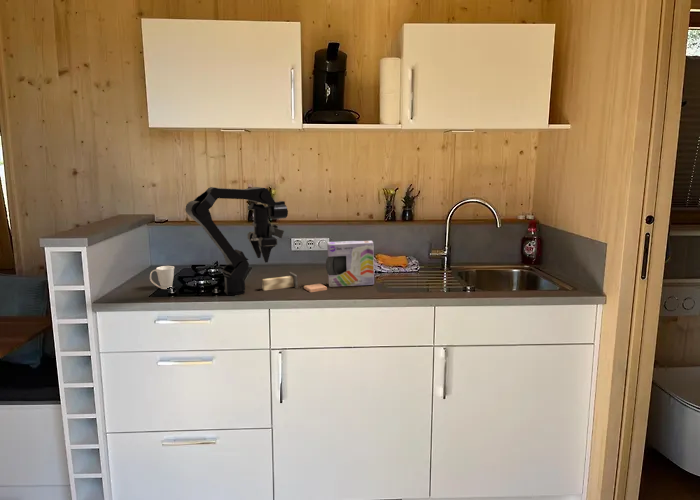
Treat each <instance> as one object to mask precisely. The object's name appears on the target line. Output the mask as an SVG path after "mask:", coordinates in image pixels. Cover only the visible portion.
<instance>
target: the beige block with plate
mask: <svg viewBox="0 0 700 500" xmlns="http://www.w3.org/2000/svg"><path fill="white" fill-rule="evenodd" d="M298 280H299V279H298V275H297V274H296V273H294V272H292V271H289V272H288V275H286V276H279V277H268V278H262V280H261V281H262V283H261V285H262V288H261V289H262V290H263V291H270V290H280V289H287V288H295V289H298V288H299V286H298Z"/></svg>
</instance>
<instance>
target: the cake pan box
mask: <svg viewBox="0 0 700 500" xmlns="http://www.w3.org/2000/svg"><path fill="white" fill-rule="evenodd" d="M326 246H327V247H326V248H327V258H326V260H325V269H326V273H327V277H328V279H327V281H328V287H330V288H331V287H332V288H333V287H351V286H352V287H355V286H373V285H375V258H374V257H375V255H374V254H375V253H374V249H375V247H374V241H373V240H345V241H327V244H326Z"/></svg>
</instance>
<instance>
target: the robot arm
mask: <svg viewBox="0 0 700 500" xmlns="http://www.w3.org/2000/svg"><path fill="white" fill-rule="evenodd" d="M218 199H225V200H227V199H229V200H246V201H250V202H251V204H250V205H248V207H247V209H249V210H253V211H252V212H253V222H252V226H253V231H249V232H248V233H247V240H248V241H249V243H250V246H251V248H252V249H253V251H254V253H255V256H256V259H260V258H261V256H262V258H263V262H264V263H265V264H266V263H267V264H268V263H269V260H270V255H271V252H272V249H274V247H276V246H277V245H278V238H279V239H283V236H284V232H285V230H284V229H280V228H278V225H276V224H272V223H271V222H270V219H271V220H278V219H279V220H281V219H282V220H283V219H286V218H287V217H288V215H289V210H288V206H287V205H286V201H283V200H279V201H275V199H274V198H273V197H272V196H271V192H270V190H269V189H268V188H266V187H261V186H256V187H255V186H254V187H248V188H225V187H224V188H223V187H215V186H210V187H208V188H207V189H206V190H204V192H202V193H201V194H200V195H198V196H197V197H195V198H194V200H191V201H188V202H187V203H186V206H185V213H186V214H187V215H188V216H189V217H190V218H191V219H192V220H193V221H194V222H196V223H197V224H198V225H200V226H201V228H202V229H203V230H204V231H205V233H206V235H208V237H209V238H210V239H211V241H212V242H213V243H214V244H215V246H216V247H217V248H218V250H219V251H220V253H222V255H223V258H224V261H225V263H226V265H225V266H224V267H223V268H222V270H221V272H222V274H223V276H224V290H223V292H224V293H225V294H226V296H233V295H241V294H242V295H243V294H245V293H246V291H245V290H246V285H245V284H246V283H245V279H244V278H245V276H246V273H247V271H248V269H249V266H250V263H249V259H248V258H247V257H246V256H245V254H244V252H243V251H242V250H239V249H234V247H233V246H232V245H231V244H230V242H229V241H228V240H227V238H226V237H225V235H224V234H223V233H222V231H221V230H220V229H219V227H218V226H217V225H216V223H215V222H214V221H213V218H212V214H211V212H210V209H211V208H212V207H213V205H215V202H216V201H217V200H218ZM256 203H259V204H256ZM265 205H266V206H265ZM269 218H270V219H269ZM276 237H278V238H276Z"/></svg>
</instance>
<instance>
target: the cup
mask: <svg viewBox="0 0 700 500" xmlns="http://www.w3.org/2000/svg"><path fill="white" fill-rule="evenodd" d="M155 268H156V269H153V270H151V271H150V274H149V280H150V282H151V283H152V284H153V285H154V286H156V287H157V288H159V289H161V290H168V289H167V288H169V287H172V288H173V283H174V282H173V281H174V277H175V276H174V274H175V266H173V265H162V266H157V267H155ZM153 272H156V275H157V279H158V283H159V284H160V285H158V284H157V283H156V282H155V281H154V280H153V279H152V274H153Z"/></svg>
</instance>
